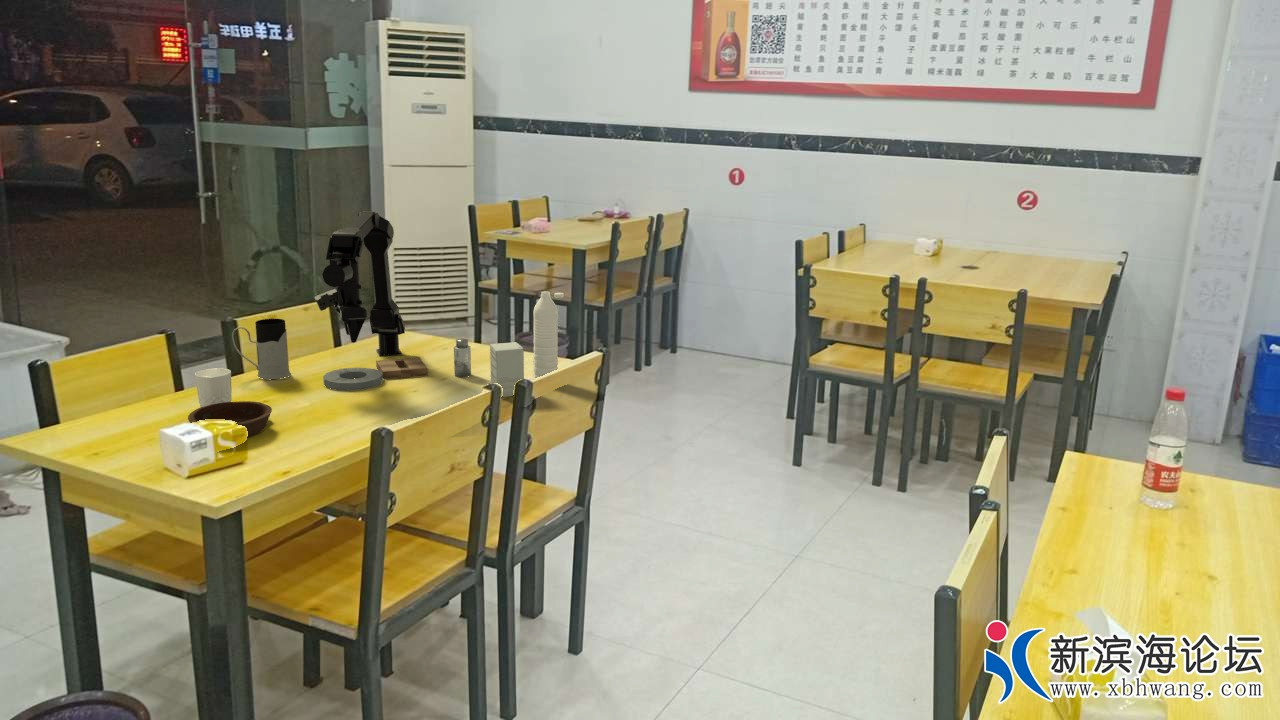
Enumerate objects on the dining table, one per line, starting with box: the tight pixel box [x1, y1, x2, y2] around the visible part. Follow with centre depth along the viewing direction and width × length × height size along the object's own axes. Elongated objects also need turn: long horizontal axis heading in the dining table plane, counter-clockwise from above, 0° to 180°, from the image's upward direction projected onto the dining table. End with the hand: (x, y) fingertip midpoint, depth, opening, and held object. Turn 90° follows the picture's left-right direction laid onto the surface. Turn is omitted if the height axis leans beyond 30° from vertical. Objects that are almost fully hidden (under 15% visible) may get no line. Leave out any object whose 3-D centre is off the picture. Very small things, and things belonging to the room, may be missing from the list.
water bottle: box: [533, 290, 565, 379], centre depth 271 cm, size 9×6×25 cm
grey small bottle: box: [453, 338, 472, 378], centre depth 279 cm, size 4×4×10 cm
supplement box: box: [489, 341, 525, 398], centre depth 264 cm, size 7×7×13 cm
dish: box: [187, 400, 273, 438], centre depth 230 cm, size 17×22×5 cm
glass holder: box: [231, 318, 292, 380], centre depth 273 cm, size 9×14×15 cm, turn 104°
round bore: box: [322, 367, 384, 391], centre depth 271 cm, size 15×15×2 cm
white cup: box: [194, 367, 233, 408], centre depth 243 cm, size 8×8×10 cm
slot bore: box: [375, 356, 429, 380], centre depth 282 cm, size 12×12×2 cm
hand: (351, 338), depth 268 cm, fingers open, 9 cm apart
